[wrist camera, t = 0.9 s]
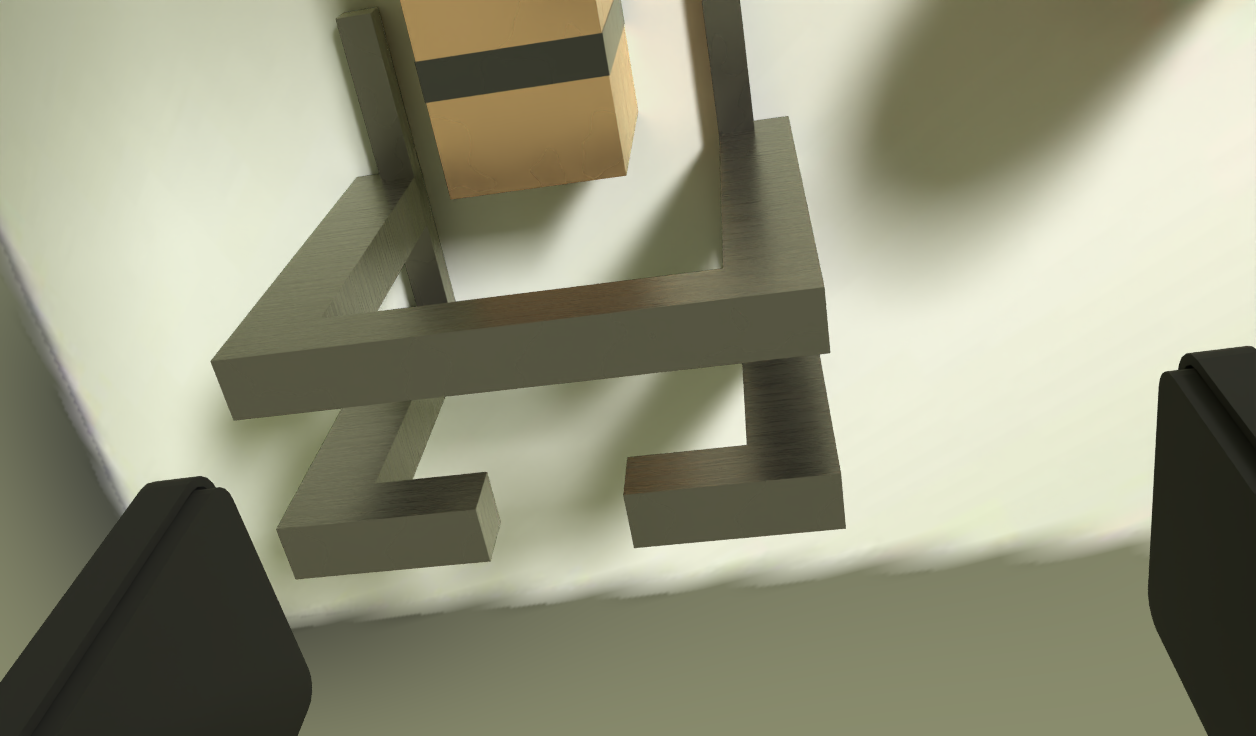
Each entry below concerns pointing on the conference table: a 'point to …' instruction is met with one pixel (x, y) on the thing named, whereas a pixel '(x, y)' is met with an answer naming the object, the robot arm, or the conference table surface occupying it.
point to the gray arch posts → (537, 349)
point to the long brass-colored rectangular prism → (524, 90)
